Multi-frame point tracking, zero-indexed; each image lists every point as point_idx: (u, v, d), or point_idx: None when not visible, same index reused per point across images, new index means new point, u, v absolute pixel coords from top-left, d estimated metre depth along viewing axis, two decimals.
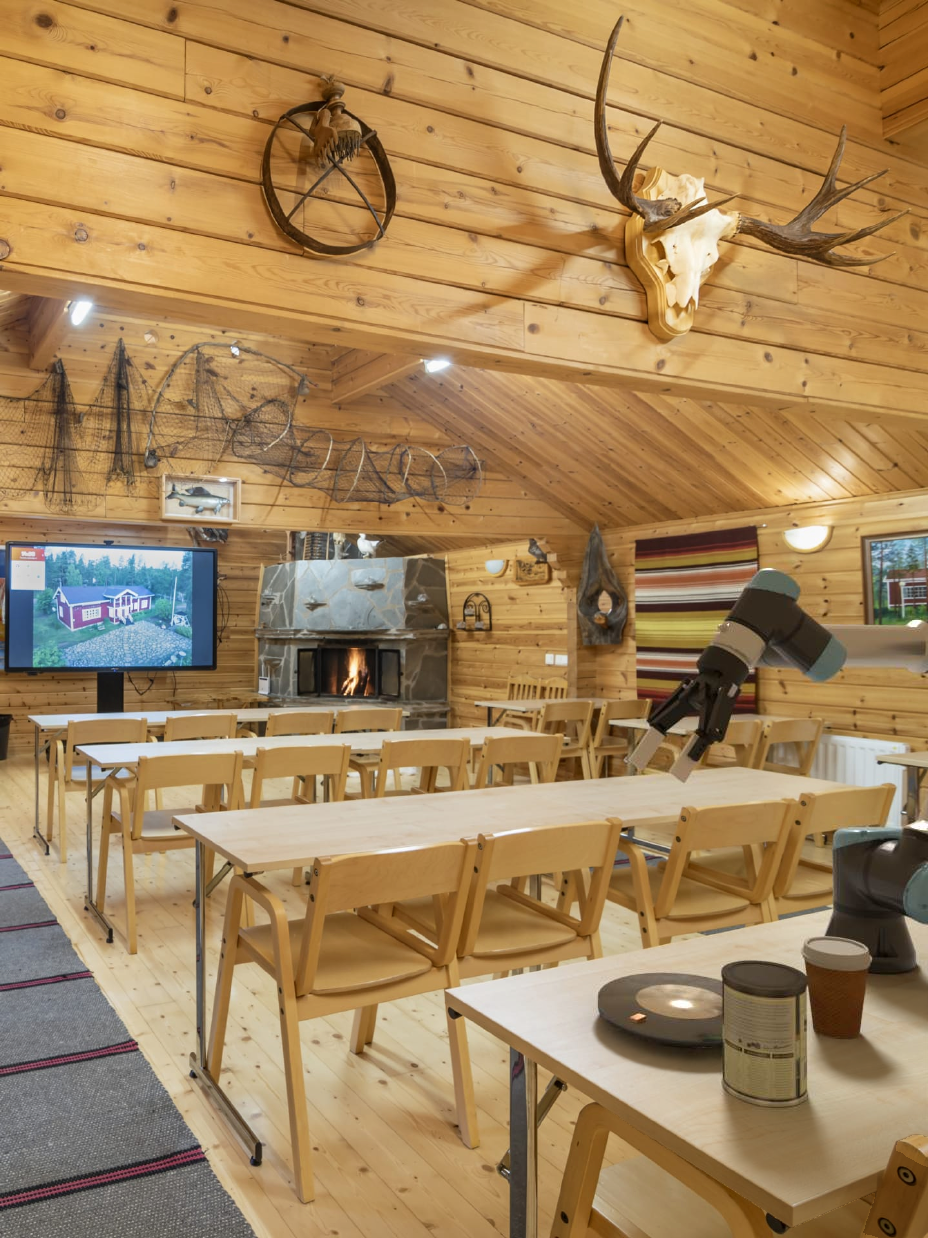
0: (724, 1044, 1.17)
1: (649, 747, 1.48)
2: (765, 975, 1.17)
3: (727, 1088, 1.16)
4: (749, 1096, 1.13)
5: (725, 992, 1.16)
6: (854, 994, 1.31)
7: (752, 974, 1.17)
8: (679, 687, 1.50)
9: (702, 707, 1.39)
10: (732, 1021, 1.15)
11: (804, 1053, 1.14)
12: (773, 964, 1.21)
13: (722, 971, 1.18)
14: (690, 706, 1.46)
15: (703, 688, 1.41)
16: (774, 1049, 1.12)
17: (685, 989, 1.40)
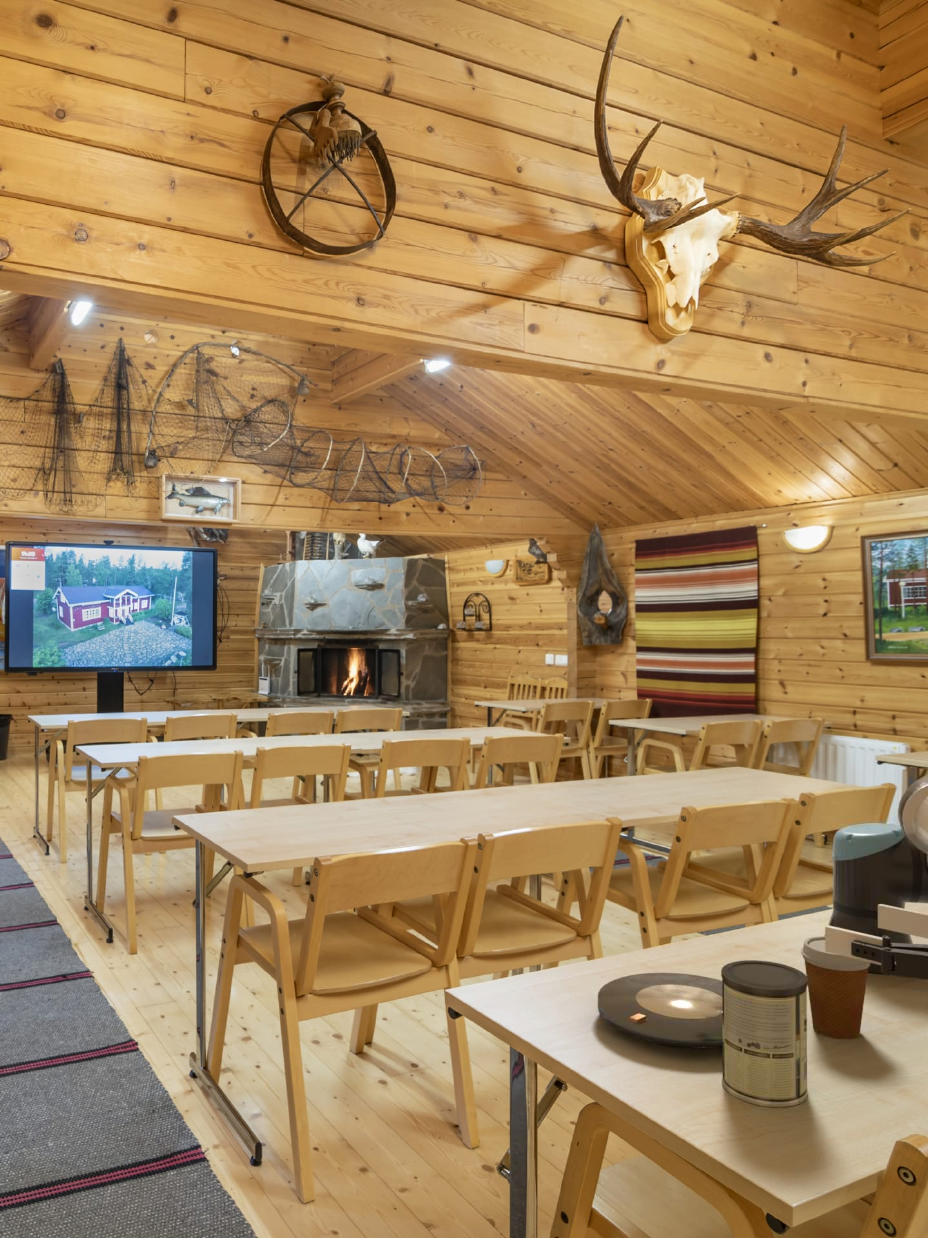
0: (724, 1044, 1.17)
1: None
2: (765, 975, 1.17)
3: (727, 1088, 1.16)
4: (749, 1096, 1.13)
5: (725, 992, 1.16)
6: (854, 994, 1.31)
7: (752, 974, 1.17)
8: None
9: None
10: (732, 1021, 1.15)
11: (804, 1053, 1.14)
12: (773, 964, 1.21)
13: (722, 971, 1.18)
14: None
15: None
16: (774, 1049, 1.12)
17: (685, 989, 1.40)
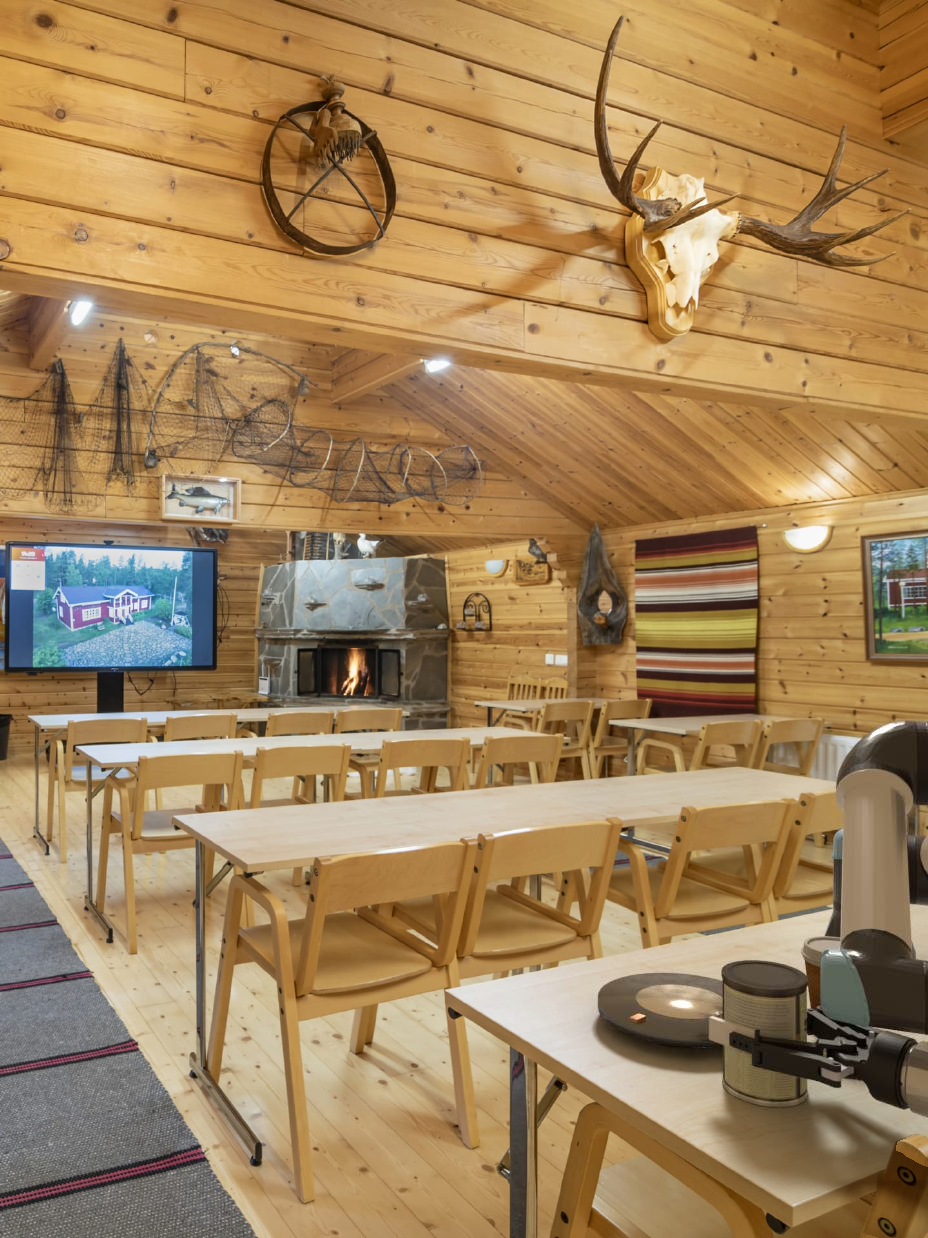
0: None
1: None
2: (765, 974, 1.17)
3: (727, 1088, 1.16)
4: (749, 1096, 1.13)
5: (726, 992, 1.16)
6: None
7: (752, 974, 1.17)
8: None
9: None
10: (732, 1021, 1.15)
11: None
12: (773, 964, 1.21)
13: (722, 971, 1.18)
14: None
15: None
16: None
17: (685, 989, 1.40)
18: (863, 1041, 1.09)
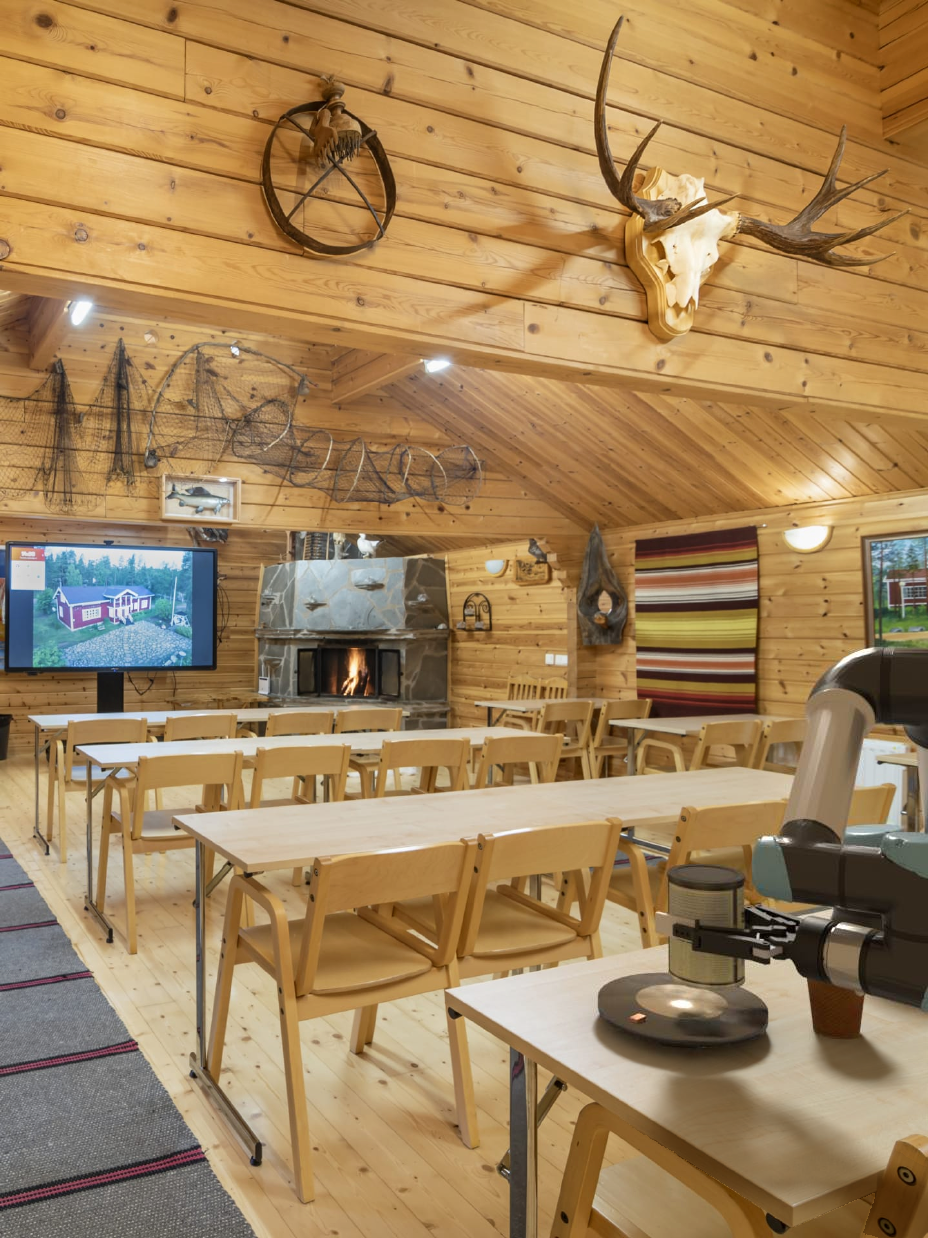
0: (669, 937, 1.27)
1: None
2: (707, 873, 1.27)
3: (672, 976, 1.26)
4: (691, 981, 1.23)
5: (670, 889, 1.27)
6: (854, 994, 1.31)
7: (695, 873, 1.28)
8: None
9: None
10: (676, 915, 1.25)
11: None
12: (715, 866, 1.31)
13: (668, 871, 1.28)
14: None
15: None
16: None
17: (685, 989, 1.40)
18: (792, 927, 1.19)
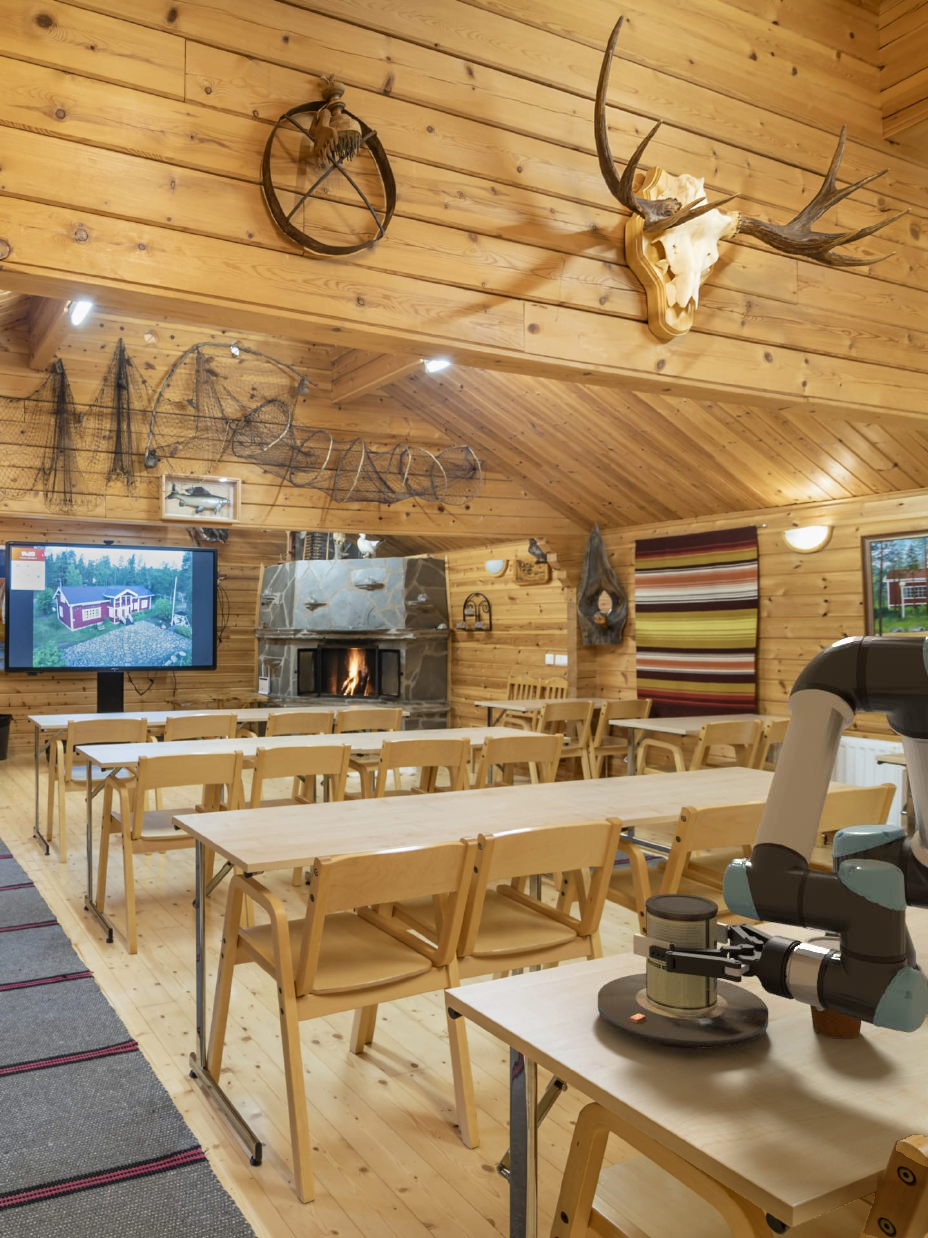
0: (647, 963, 1.36)
1: None
2: (682, 904, 1.36)
3: (649, 1000, 1.35)
4: (666, 1005, 1.32)
5: (648, 918, 1.35)
6: None
7: (671, 903, 1.36)
8: None
9: None
10: None
11: None
12: (691, 896, 1.40)
13: (646, 901, 1.37)
14: None
15: None
16: None
17: None
18: (759, 946, 1.28)
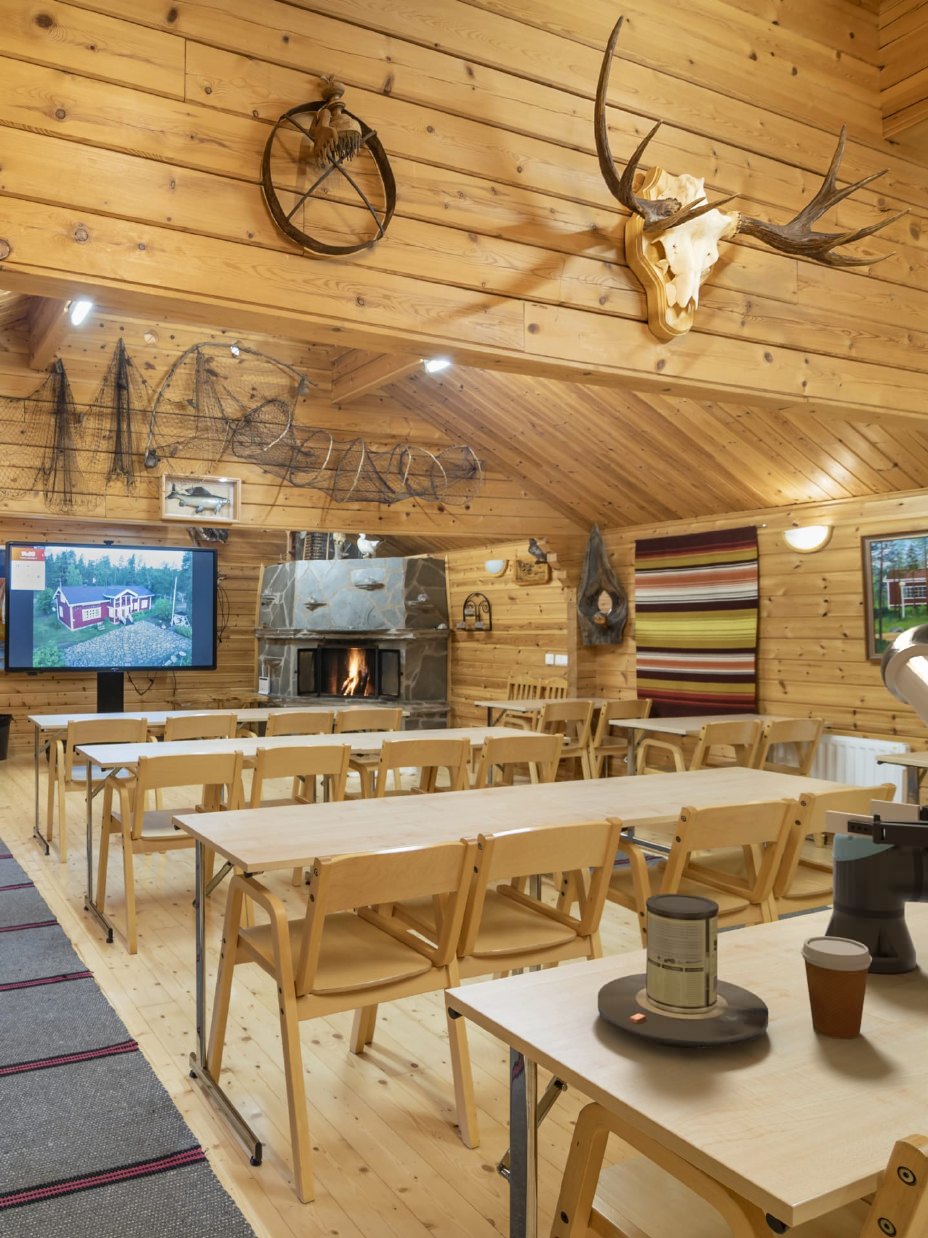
0: (647, 962, 1.36)
1: None
2: (683, 903, 1.36)
3: (648, 999, 1.35)
4: (665, 1004, 1.32)
5: (648, 917, 1.36)
6: (854, 994, 1.31)
7: (672, 903, 1.37)
8: None
9: None
10: (653, 941, 1.34)
11: (713, 969, 1.33)
12: (692, 896, 1.40)
13: (646, 900, 1.37)
14: None
15: None
16: (687, 963, 1.31)
17: None
18: None
